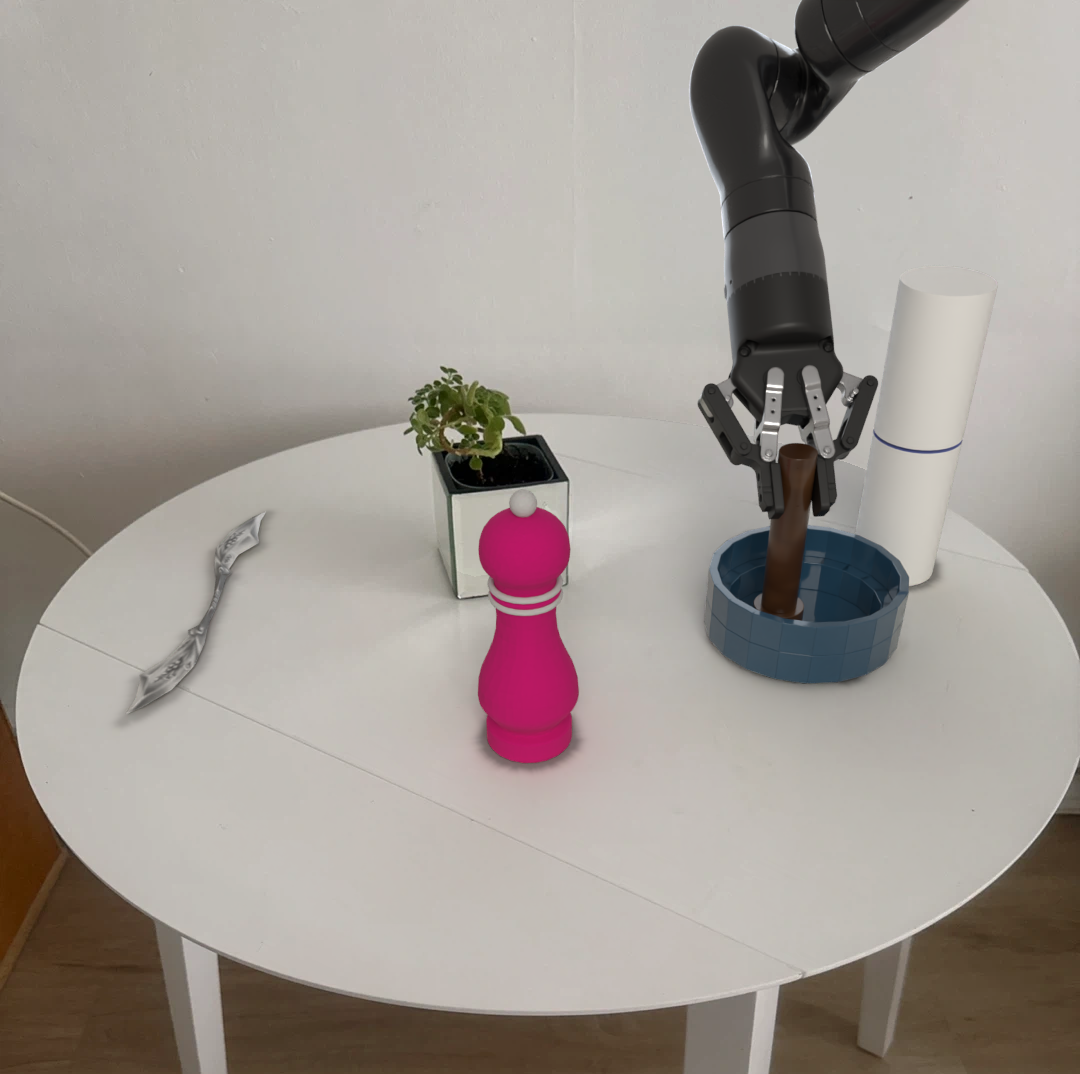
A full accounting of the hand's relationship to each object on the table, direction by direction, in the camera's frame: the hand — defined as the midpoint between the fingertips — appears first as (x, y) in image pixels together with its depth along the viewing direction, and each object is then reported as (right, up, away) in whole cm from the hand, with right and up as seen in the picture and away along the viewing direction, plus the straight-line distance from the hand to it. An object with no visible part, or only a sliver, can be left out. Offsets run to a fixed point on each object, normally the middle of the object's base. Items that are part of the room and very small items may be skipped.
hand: (799, 513), depth 85 cm
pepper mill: (-20, -17, 0) cm, 26 cm away
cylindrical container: (+12, -2, +18) cm, 22 cm away
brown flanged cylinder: (0, -7, +8) cm, 11 cm away
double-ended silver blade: (-48, -5, +15) cm, 50 cm away
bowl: (+2, -8, +10) cm, 13 cm away
